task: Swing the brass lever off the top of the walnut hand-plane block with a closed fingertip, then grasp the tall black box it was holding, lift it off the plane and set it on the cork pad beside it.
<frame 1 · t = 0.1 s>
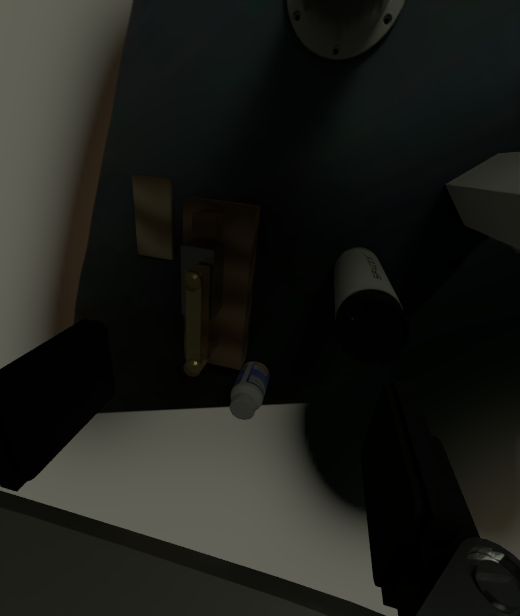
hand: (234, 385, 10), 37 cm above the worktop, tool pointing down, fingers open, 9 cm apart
plane body: (222, 284, 50), on the worktop
cork pad: (154, 218, 48), on the worktop
milk: (479, 191, 37), on the worktop
travel mug: (356, 268, 44), on the worktop
lever: (203, 315, 43), point 9 cm above the worktop, hinge at 0.0°
pill bottle: (255, 372, 56), on the worktop
tall black box: (208, 274, 45), point 4 cm above the worktop, touching plane body
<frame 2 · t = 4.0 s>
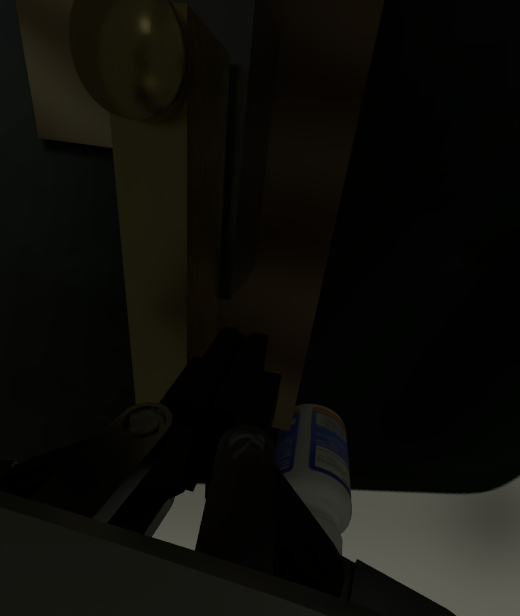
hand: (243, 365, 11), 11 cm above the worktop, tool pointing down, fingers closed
plane body: (252, 218, 20), on the worktop
cork pad: (73, 25, 17), on the worktop
lever: (199, 283, 13), point 8 cm above the worktop, hinge at 0.9°, touching gripper
pill bottle: (313, 424, 26), on the worktop
tall black box: (220, 163, 15), point 4 cm above the worktop, touching plane body
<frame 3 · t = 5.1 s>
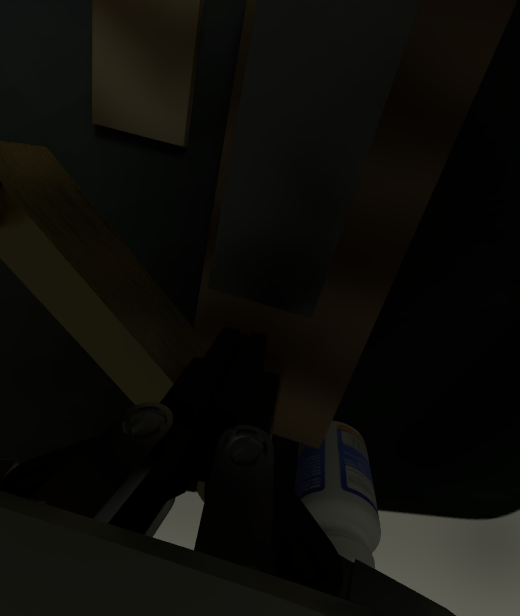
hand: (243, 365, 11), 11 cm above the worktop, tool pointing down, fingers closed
plane body: (306, 231, 19), on the worktop
cork pad: (150, 13, 17), on the worktop
lever: (165, 313, 14), point 9 cm above the worktop, hinge at 49.8°, touching gripper
pill bottle: (331, 441, 26), on the worktop
tall black box: (300, 176, 15), point 4 cm above the worktop, touching plane body
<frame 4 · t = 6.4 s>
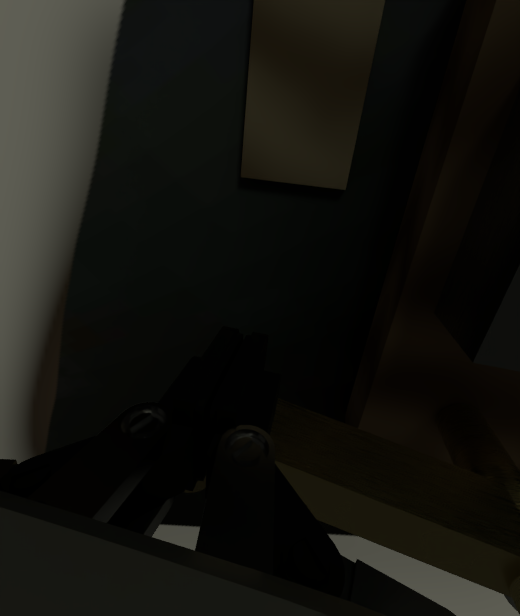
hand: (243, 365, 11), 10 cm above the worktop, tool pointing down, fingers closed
plane body: (483, 263, 18), on the worktop
cork pad: (310, 55, 15), on the worktop
lever: (354, 438, 14), point 9 cm above the worktop, hinge at 79.4°, touching gripper
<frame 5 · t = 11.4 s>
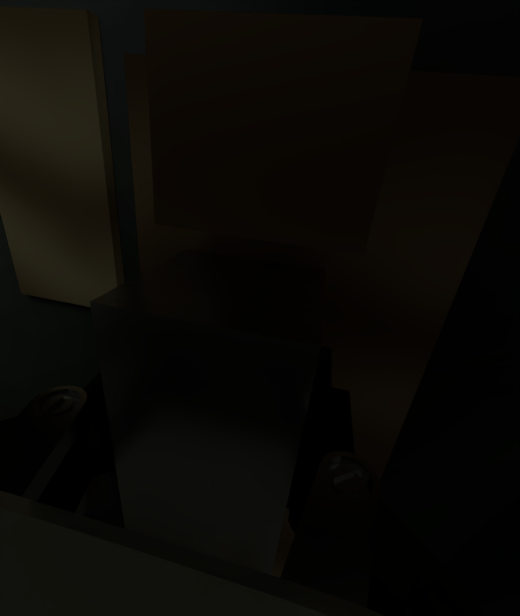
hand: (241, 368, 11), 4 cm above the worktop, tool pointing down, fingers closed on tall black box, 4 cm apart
plane body: (275, 386, 16), on the worktop
cork pad: (57, 182, 14), on the worktop
tall black box: (242, 384, 12), point 4 cm above the worktop, touching gripper, plane body
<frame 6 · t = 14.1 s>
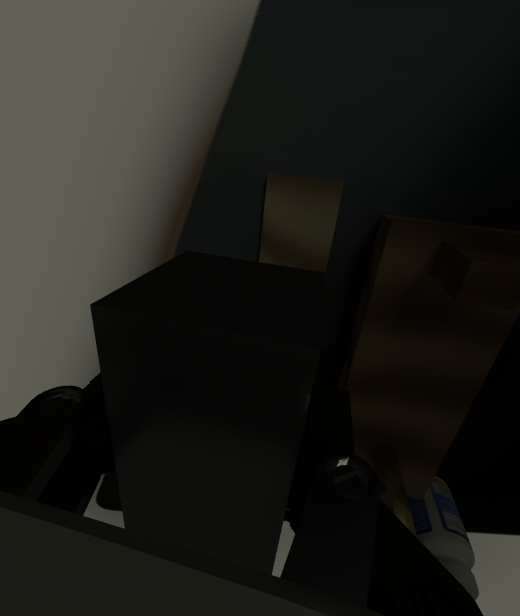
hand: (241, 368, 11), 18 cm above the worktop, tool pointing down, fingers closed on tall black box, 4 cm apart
plane body: (400, 360, 29), on the worktop
cork pad: (294, 250, 27), on the worktop
lever: (316, 469, 25), point 9 cm above the worktop, hinge at 79.5°
pill bottle: (422, 486, 35), on the worktop
tall black box: (242, 385, 12), point 18 cm above the worktop, touching gripper
when the fingers open (2 cm above the worktop, at t = 17.1 s): tall black box drops 1 cm, resting on cork pad.
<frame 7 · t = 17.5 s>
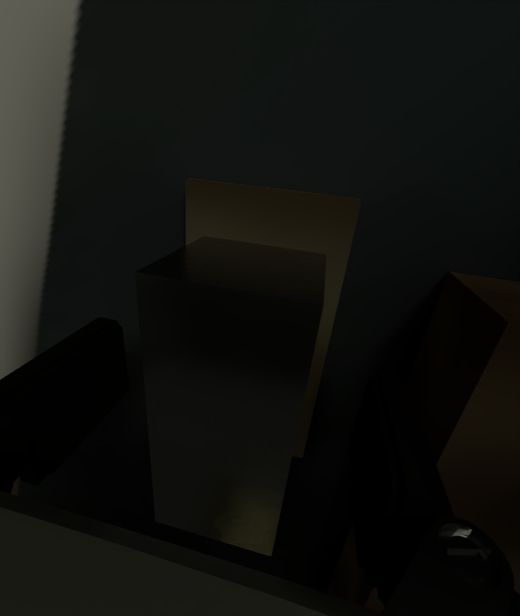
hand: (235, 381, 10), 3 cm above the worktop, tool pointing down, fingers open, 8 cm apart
plane body: (460, 530, 15), on the worktop
cork pad: (256, 334, 13), on the worktop
tall black box: (251, 359, 13), point 1 cm above the worktop, touching cork pad
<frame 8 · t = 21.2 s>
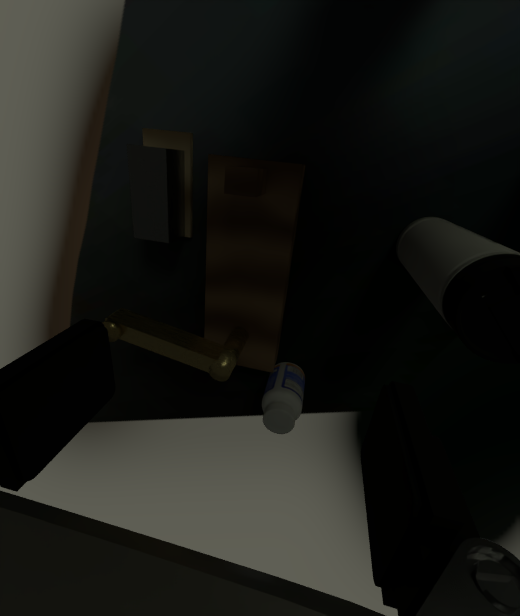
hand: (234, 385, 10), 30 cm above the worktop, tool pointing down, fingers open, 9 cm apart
plane body: (252, 268, 41), on the worktop
cork pad: (170, 185, 38), on the worktop
travel mug: (425, 245, 35), on the worktop
lever: (180, 333, 37), point 8 cm above the worktop, hinge at 79.5°
pill bottle: (288, 374, 47), on the worktop
tall black box: (167, 193, 38), point 1 cm above the worktop, touching cork pad
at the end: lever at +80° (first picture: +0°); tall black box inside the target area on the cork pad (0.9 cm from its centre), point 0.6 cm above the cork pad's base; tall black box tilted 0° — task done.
